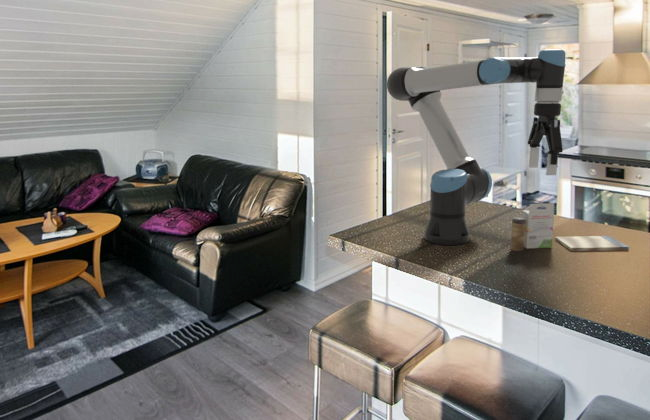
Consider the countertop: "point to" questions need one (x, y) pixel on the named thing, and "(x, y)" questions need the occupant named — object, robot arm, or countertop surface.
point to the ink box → (538, 226)
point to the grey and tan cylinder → (518, 234)
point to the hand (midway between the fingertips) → (541, 171)
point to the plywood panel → (591, 243)
